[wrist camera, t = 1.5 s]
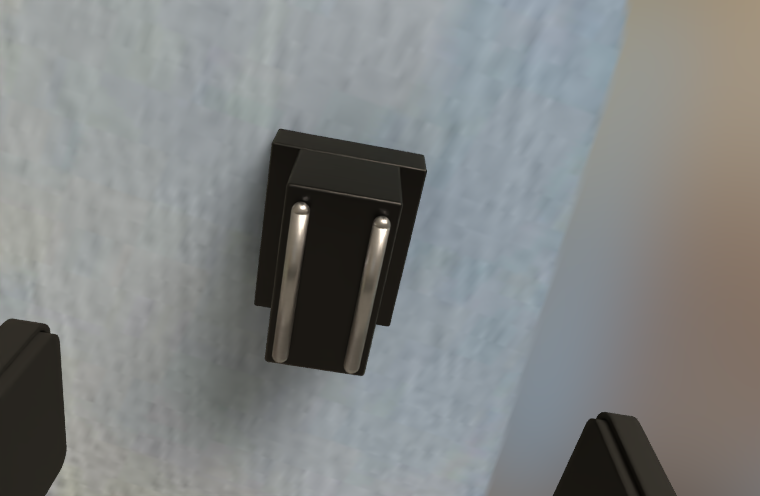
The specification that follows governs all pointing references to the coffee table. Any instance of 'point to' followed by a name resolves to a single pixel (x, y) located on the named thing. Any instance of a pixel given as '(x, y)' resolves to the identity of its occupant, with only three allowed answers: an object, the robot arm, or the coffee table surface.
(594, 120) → the coffee table surface
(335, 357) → the clip
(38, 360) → the robot arm
